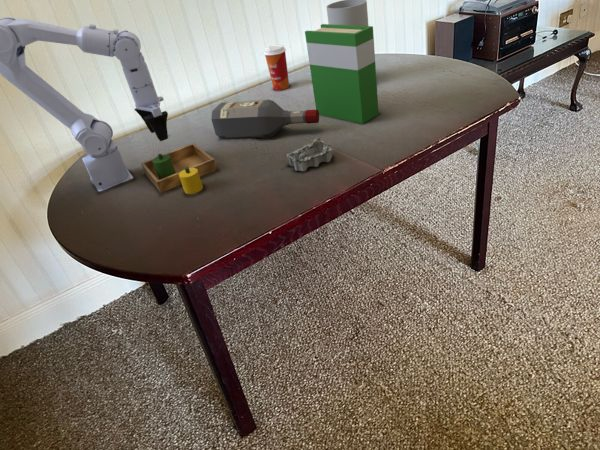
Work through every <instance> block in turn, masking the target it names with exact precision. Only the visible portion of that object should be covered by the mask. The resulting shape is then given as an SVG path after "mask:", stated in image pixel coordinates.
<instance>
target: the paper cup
mask: <svg viewBox="0 0 600 450" xmlns="http://www.w3.org/2000/svg"><path fill="white" fill-rule="evenodd" d="M286 51H287V49H286V48H285V46H284V45H283V44H274V45H270V46H267V47H265V48H264V52H263V55H264V57H265V59H266V65H267V68H268V72H269V76H270V80H271V83H272V87H273V90H274V91H277V92H278V91H284V90H287V89H289V88H290V80H289V72H288V71H289V70H288V63H287V56H286Z"/></svg>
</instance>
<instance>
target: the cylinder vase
mask: <svg viewBox="0 0 600 450" xmlns="http://www.w3.org/2000/svg"><path fill="white" fill-rule="evenodd" d="M367 1H368V0H339V1H335V2H332V3H329V4H327V5H326V16H327V24H332V25H354V26H369V14H368V13H369V11H368V2H367Z"/></svg>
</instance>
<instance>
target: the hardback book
mask: <svg viewBox="0 0 600 450" xmlns="http://www.w3.org/2000/svg"><path fill="white" fill-rule="evenodd" d="M374 35H375V34H374V26H373V25H368V26H354V25H332V24H328V23H322V24H320V28H317V29H316V30H305V31H304V37H305V41H306V43H305V44H306V51H307V56H308V57H307V58H308V65H309V70H310V71H309V72H310V78H311V85H312V90H313V97H314V103H315V104H314V105H315V110H318V111H319V116H323V117H329V118H333V119H338V120H342V121H347V122H353V123H357V124H360V125H361V124H362V125H364V124H365V123H367V122H368V121H370V120H372V119H373V118H375V117H377V116H378V115H379V114H380V112H379V111H380V110H379V96H378V83H377V82H378V81H377V68H376V67H377V65H376V52H375V38H374V37H375V36H374Z"/></svg>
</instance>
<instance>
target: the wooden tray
mask: <svg viewBox="0 0 600 450" xmlns="http://www.w3.org/2000/svg"><path fill="white" fill-rule="evenodd" d="M163 155H169V156H170V157H171V160H172V163H173V166H174V169H175V172H176V174H173V175H171V176H168V177H166V178H163V179H161V180H159V178H158V175H157V173H156V170H155V167H154V165H153V162H152V160H153V159H154V158H151V159H148V160H146V161H143V162H141V163H140V165H141V168H142V170H143V173H144V174H145V176H146V177H147V178H148V179H149V181H150V182H151V183H152V184H153V186H154V187H155V188H156V189H157V190H158V192H159V193H160V194H163V193H164V192H167V191H169V190H171V189H174V188H176V187H179V186H182V183H181V180H180V177H179V173H180V172H181V171H183V170H185V168H186V167H189V168H196V169H197V170H198V173H199V176H200V178H201V177H203V176H206V175H208V174H210V173H213V172H215V171H217V170H218V168H217V164H216V161H215V159H214V157H212V156H210V155H209V154H208V153H207V152H205V151H204V150H203V149H202V148H200V147H199V146H198V145H197V144H196V143H195V142H193V143H191V144H188V145H185V146H183V147H180V148H177V149H175V150H172V151H169V152H166V153H164V154H163Z"/></svg>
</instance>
